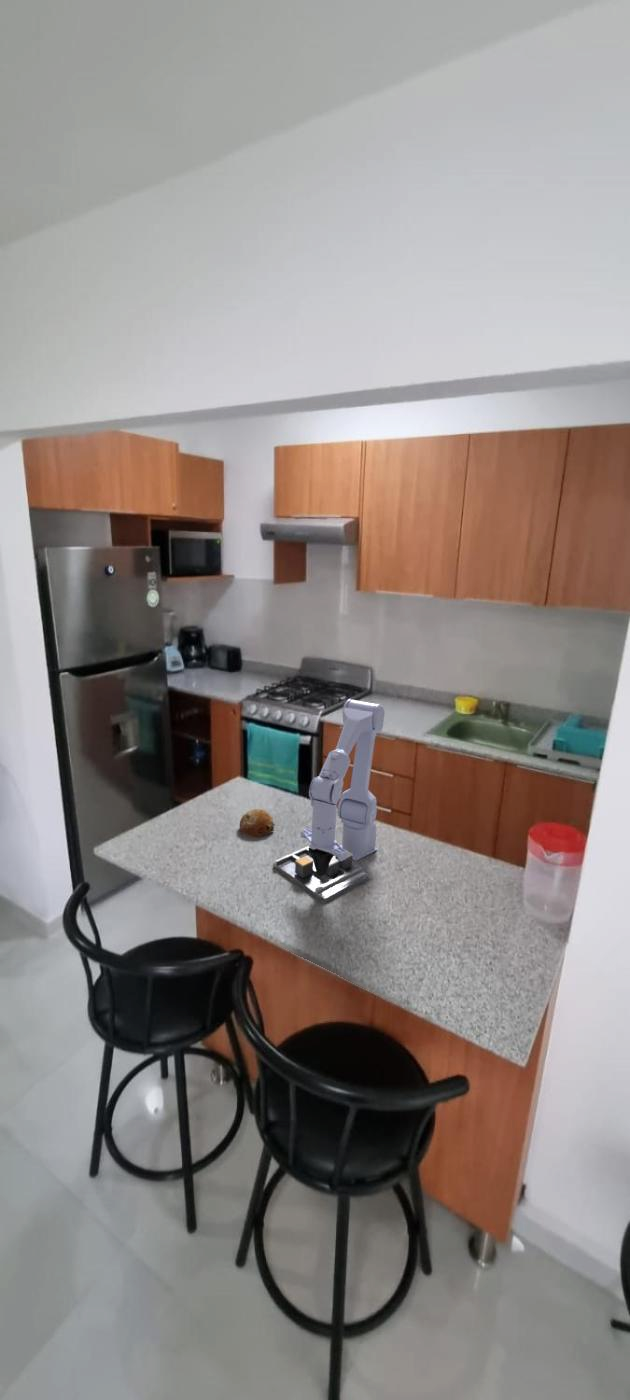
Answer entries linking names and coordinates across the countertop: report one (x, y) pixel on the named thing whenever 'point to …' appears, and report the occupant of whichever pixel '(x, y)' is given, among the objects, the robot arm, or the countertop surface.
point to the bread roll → (257, 823)
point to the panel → (320, 877)
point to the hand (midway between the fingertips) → (321, 873)
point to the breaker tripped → (304, 866)
